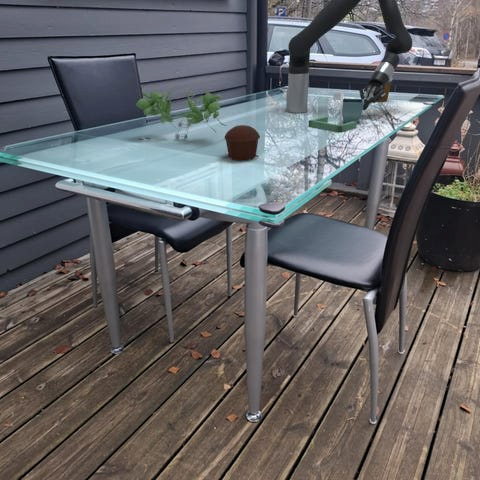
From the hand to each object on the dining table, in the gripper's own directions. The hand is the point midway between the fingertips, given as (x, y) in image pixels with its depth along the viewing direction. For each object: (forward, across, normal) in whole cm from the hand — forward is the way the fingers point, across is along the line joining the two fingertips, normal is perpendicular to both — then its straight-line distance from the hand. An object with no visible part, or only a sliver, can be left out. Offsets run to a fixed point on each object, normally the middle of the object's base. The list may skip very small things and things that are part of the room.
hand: (362, 109), depth 196 cm
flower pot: (+9, 0, -2) cm, 9 cm away
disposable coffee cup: (-28, -19, +34) cm, 48 cm away
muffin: (+55, +5, -49) cm, 74 cm away
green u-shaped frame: (+17, 0, -11) cm, 21 cm away
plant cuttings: (+53, -31, -46) cm, 77 cm away
